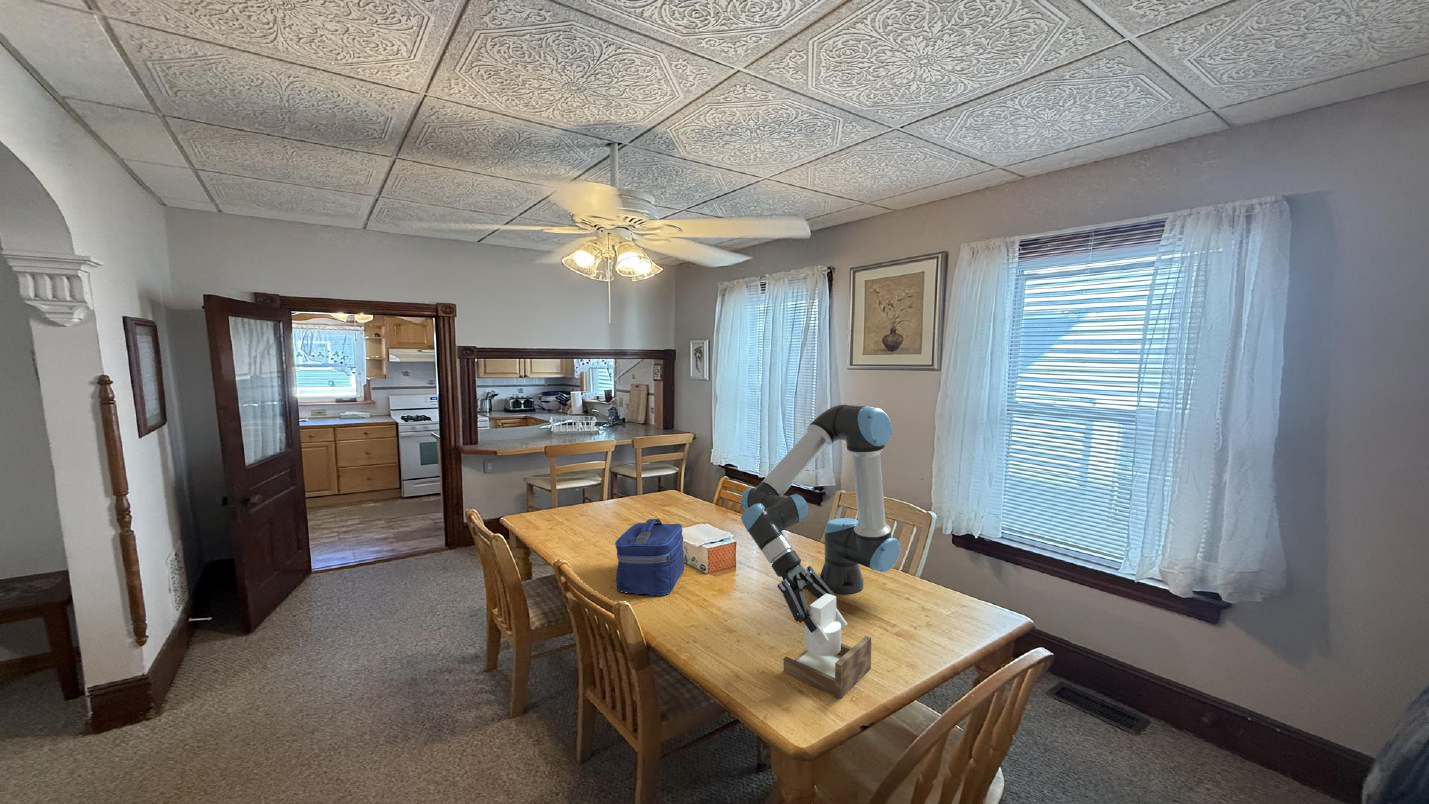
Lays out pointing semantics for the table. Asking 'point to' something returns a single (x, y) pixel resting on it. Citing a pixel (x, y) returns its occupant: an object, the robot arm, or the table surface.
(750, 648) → the table surface
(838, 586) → the robot arm
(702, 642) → the table surface
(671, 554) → the lunch bag
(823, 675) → the walnut rest
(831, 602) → the base with upright slab
